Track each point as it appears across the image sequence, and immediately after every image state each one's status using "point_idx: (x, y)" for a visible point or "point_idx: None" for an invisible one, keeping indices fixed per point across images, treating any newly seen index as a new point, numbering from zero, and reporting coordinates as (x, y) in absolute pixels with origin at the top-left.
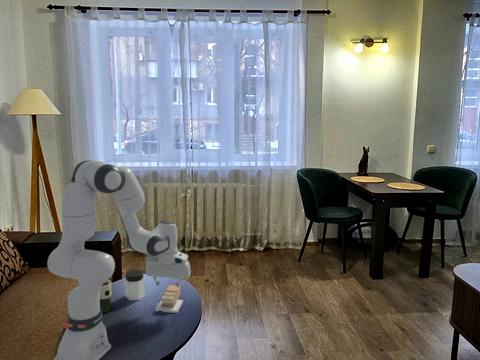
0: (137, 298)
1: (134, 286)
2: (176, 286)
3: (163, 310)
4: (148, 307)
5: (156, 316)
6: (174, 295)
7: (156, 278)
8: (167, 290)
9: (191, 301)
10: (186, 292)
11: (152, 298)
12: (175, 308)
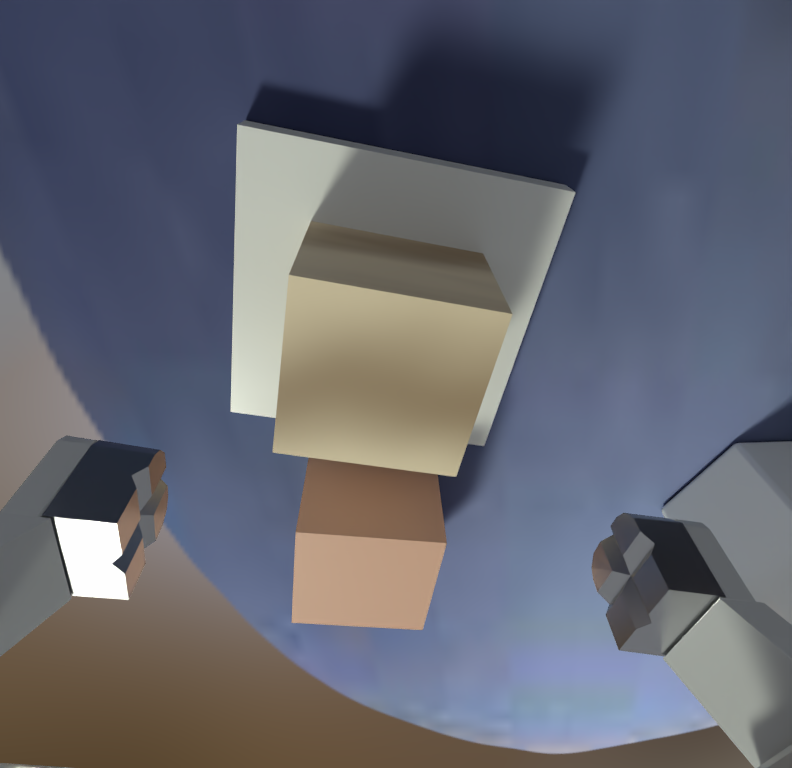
0: (761, 454)
1: None
2: (142, 454)
3: (451, 164)
4: (647, 291)
5: (551, 16)
6: (291, 383)
7: (757, 721)
8: (430, 539)
9: (140, 405)
10: (250, 556)
11: (585, 470)
12: (277, 202)
